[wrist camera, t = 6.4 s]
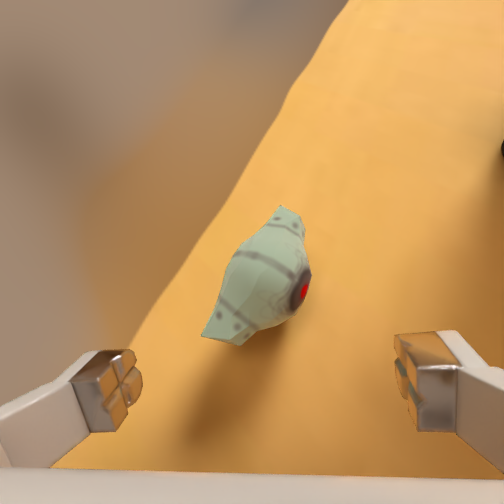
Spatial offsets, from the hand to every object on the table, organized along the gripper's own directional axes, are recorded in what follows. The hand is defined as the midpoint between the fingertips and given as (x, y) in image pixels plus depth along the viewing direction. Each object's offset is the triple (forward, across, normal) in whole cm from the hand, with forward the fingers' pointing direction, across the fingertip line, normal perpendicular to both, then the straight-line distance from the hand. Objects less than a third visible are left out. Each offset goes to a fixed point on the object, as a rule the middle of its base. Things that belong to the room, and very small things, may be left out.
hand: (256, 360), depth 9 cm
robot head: (+9, 0, -3) cm, 10 cm away
